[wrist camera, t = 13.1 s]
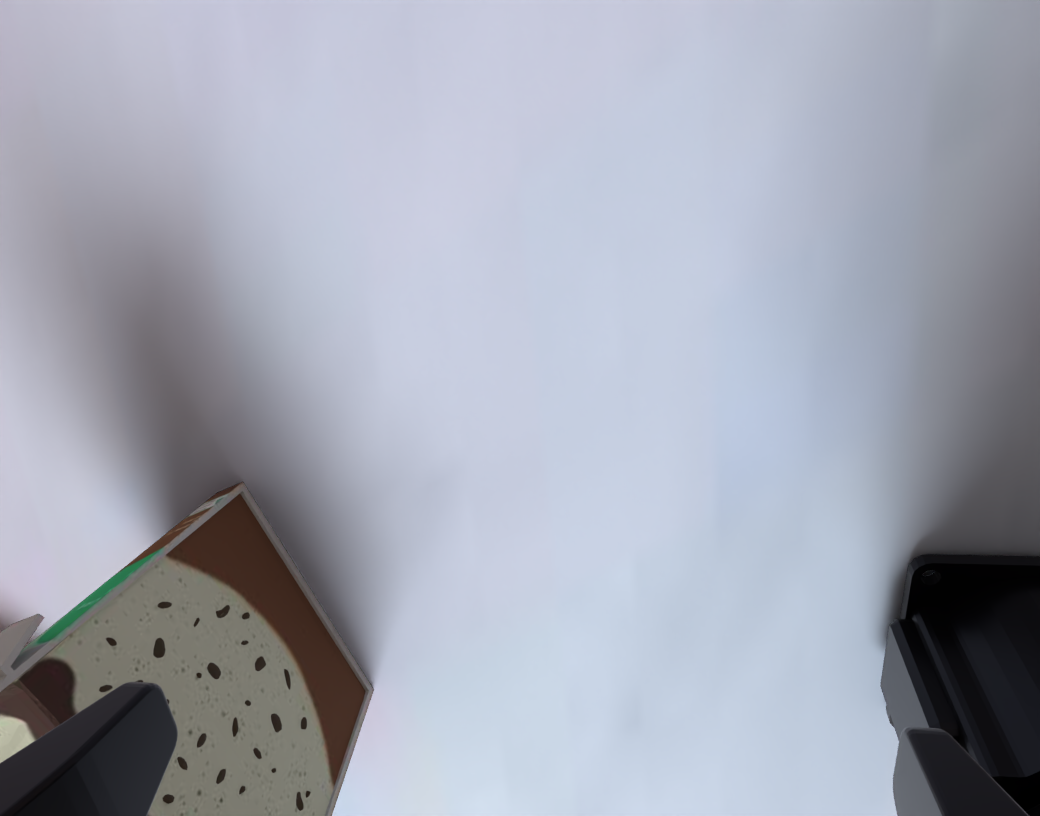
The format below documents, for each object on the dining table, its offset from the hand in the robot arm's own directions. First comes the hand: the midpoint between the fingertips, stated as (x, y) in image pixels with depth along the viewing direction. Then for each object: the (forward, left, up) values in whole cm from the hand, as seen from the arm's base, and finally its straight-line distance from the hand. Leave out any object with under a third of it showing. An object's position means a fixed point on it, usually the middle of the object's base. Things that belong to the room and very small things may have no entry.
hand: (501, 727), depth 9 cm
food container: (+13, +10, -13) cm, 21 cm away
